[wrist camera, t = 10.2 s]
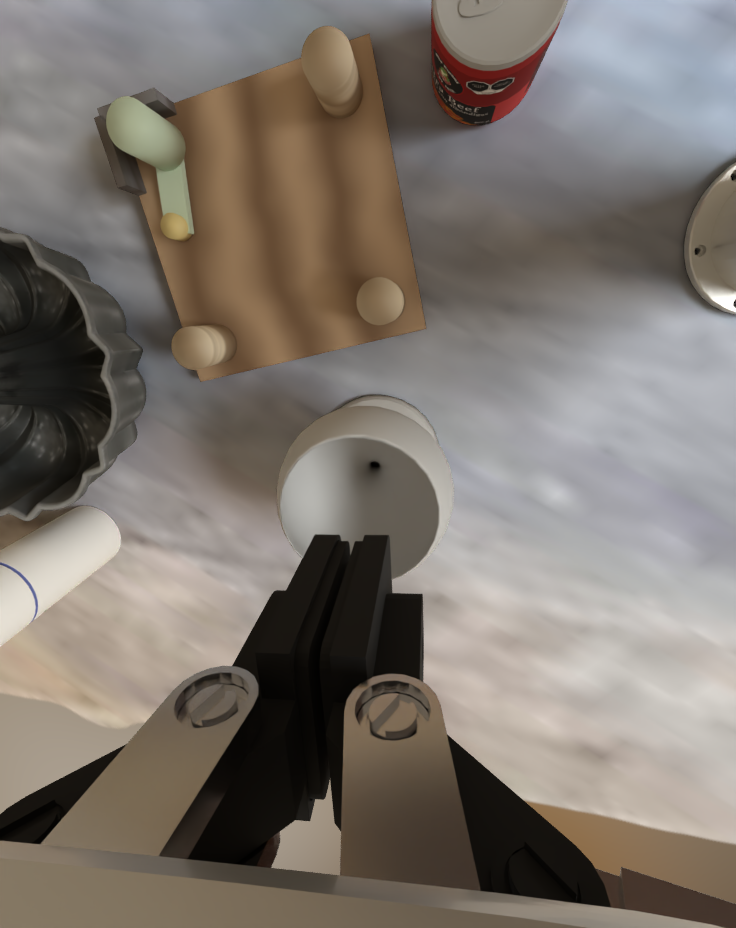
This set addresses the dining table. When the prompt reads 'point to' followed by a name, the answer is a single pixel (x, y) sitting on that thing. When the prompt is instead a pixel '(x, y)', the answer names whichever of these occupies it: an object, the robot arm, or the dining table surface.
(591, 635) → the dining table surface
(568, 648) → the dining table surface
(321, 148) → the stool board
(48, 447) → the bundt pan
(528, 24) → the canned food
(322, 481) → the chalice
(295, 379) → the dining table surface
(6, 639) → the cylindrical container
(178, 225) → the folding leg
